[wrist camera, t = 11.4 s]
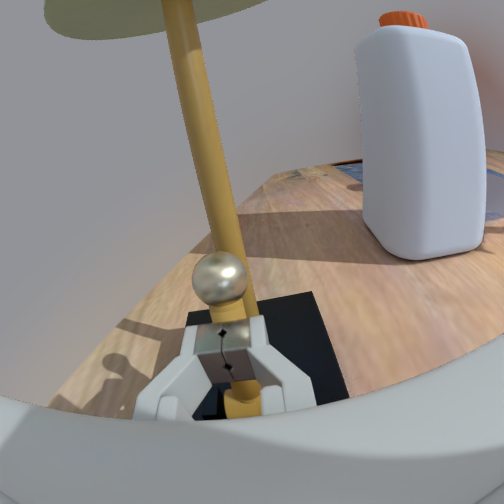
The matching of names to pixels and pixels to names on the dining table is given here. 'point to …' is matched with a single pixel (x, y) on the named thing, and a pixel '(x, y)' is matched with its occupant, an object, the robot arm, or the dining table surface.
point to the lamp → (210, 173)
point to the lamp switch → (227, 319)
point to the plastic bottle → (420, 139)
